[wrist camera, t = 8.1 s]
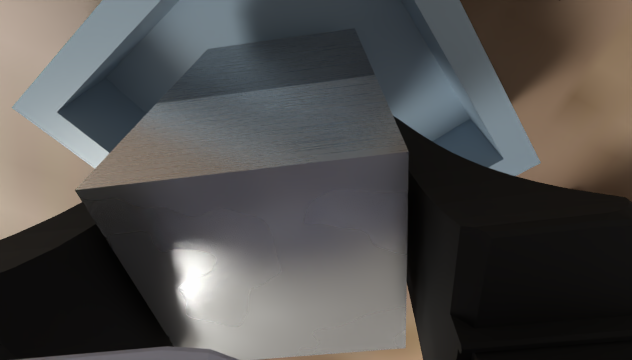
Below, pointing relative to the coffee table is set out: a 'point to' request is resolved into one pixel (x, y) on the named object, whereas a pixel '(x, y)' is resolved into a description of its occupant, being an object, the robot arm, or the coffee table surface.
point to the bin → (268, 24)
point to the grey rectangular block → (265, 202)
